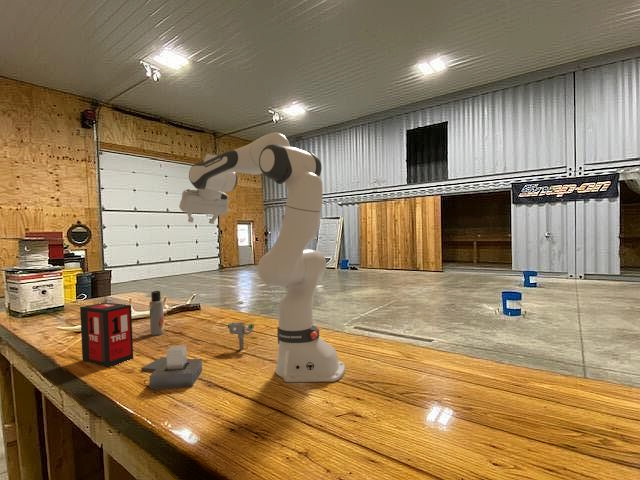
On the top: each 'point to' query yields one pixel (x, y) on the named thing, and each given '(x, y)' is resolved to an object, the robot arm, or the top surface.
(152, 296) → the lotion bottle
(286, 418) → the top surface
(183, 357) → the aluminium plug
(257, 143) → the robot arm
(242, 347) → the mechanical component
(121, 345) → the cleaning product box
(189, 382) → the square socket
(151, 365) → the rubber mat
